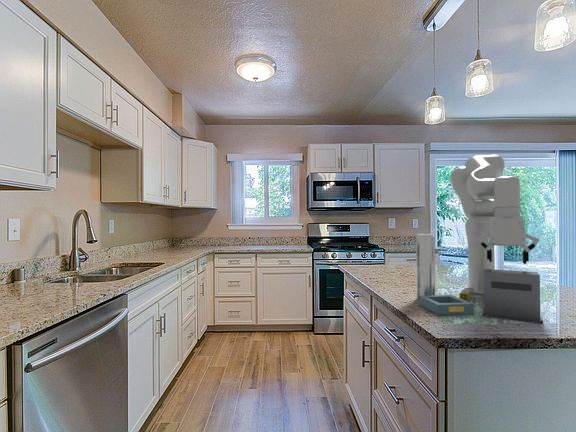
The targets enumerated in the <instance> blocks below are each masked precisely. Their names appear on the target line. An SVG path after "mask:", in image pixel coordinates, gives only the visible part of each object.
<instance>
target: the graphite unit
mask: <svg viewBox="0 0 576 432" xmlns="http://www.w3.org/2000/svg"><path fill="white" fill-rule="evenodd" d="M540 277H541V275H540V274H539V273H538V272H537V271H522V270H512V269H511V270H509V269H507V270H506V269H484V294H483V306H482V309H481V310H482V312H481V313H482V315H481V316H482V317H484V318H485V317H486V318H493V319H500V320H509V321H517V322H525V323H531V324H538V325H544V320H543V318H542V317H541V278H540Z"/></svg>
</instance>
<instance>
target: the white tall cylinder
mask: <svg viewBox="0 0 576 432" xmlns="http://www.w3.org/2000/svg"><path fill="white" fill-rule="evenodd" d="M415 238H416V239H415V242H416V246H415V247H416V248H415V249H416V252H415V253H416V257H415V258H416V261H415V262H416V299H417V300H418V301H419V296H433V295H436V245H435V244H436V243H435V242H436V237H435V236H434V234H431V233H428V234H427V233H417V234H416V236H415Z"/></svg>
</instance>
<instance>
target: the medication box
mask: <svg viewBox="0 0 576 432" xmlns="http://www.w3.org/2000/svg"><path fill="white" fill-rule="evenodd" d="M458 296H459V297H458V298H460V299H463V300H465V301H468V302H471V301H473V299H474V293H473V288H465V289H464V288H463V289H462V291H460V292H459V295H458Z"/></svg>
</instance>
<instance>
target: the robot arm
mask: <svg viewBox="0 0 576 432" xmlns="http://www.w3.org/2000/svg"><path fill="white" fill-rule="evenodd" d="M504 169H505V160H504V158H503V157H502V156H500V155H498V154H491V155H489V154H488V155H487V154H486V155H484V154H483V155H474V156H470V157H469V158H467V160H465V163H464V166H459V167H457V168H454V170H452V172H451V174H450V182H451V187H452V189H453V191H454V193H455V194H456V195H457V197H458V199H459V201H460V204H461V207H462V210H463V213H464V216H465V217H466V218H467V219H466V221H465V223H464V225H465V226H464V229H465V234H466V241H467V242H466V243H467V261H468V262H467V267H468V268H467V272H468V273H467V275H468V276H467V279H468V283H467V284H468V285H467V286H464V288H463V290H464V289H465V288H473V294H477V295H484V269H495V264H496V263H495V249H494V246H499V247H500V246H502V247H521V248H522V249H523V250H522V263H523V264H524V265H526V264H527V262H529V261H530V260H529V259H530V258H529V257H530V256H529V252H530V251H532V250H533V249H535V248H536V246H537V244H538V243H539V241H540V239H539V238H537V237H535V236H532V235H530V234H529V233H527V232H526V223H525V219H524V216H521V180H520V178H519V177H518V176H514V175H512V176H511V175H509V176H500V175H502V173H503V171H504ZM526 239H528V240H531V241H532V242H531V243H530V244H529V245H528V246H527V245H526V243H527V240H526ZM488 240H489V241H488ZM495 270H496V269H495Z"/></svg>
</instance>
